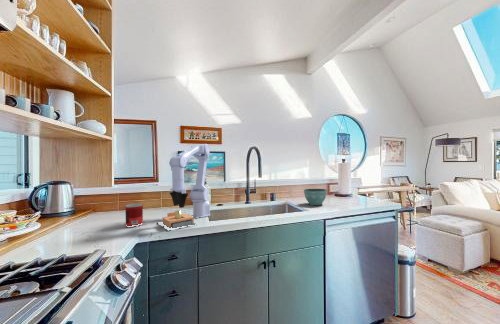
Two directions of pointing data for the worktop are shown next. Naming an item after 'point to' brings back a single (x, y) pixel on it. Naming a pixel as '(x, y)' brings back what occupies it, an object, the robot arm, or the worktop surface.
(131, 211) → the canned food
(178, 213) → the pin
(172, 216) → the orange slotted block
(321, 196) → the flower pot
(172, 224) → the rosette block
